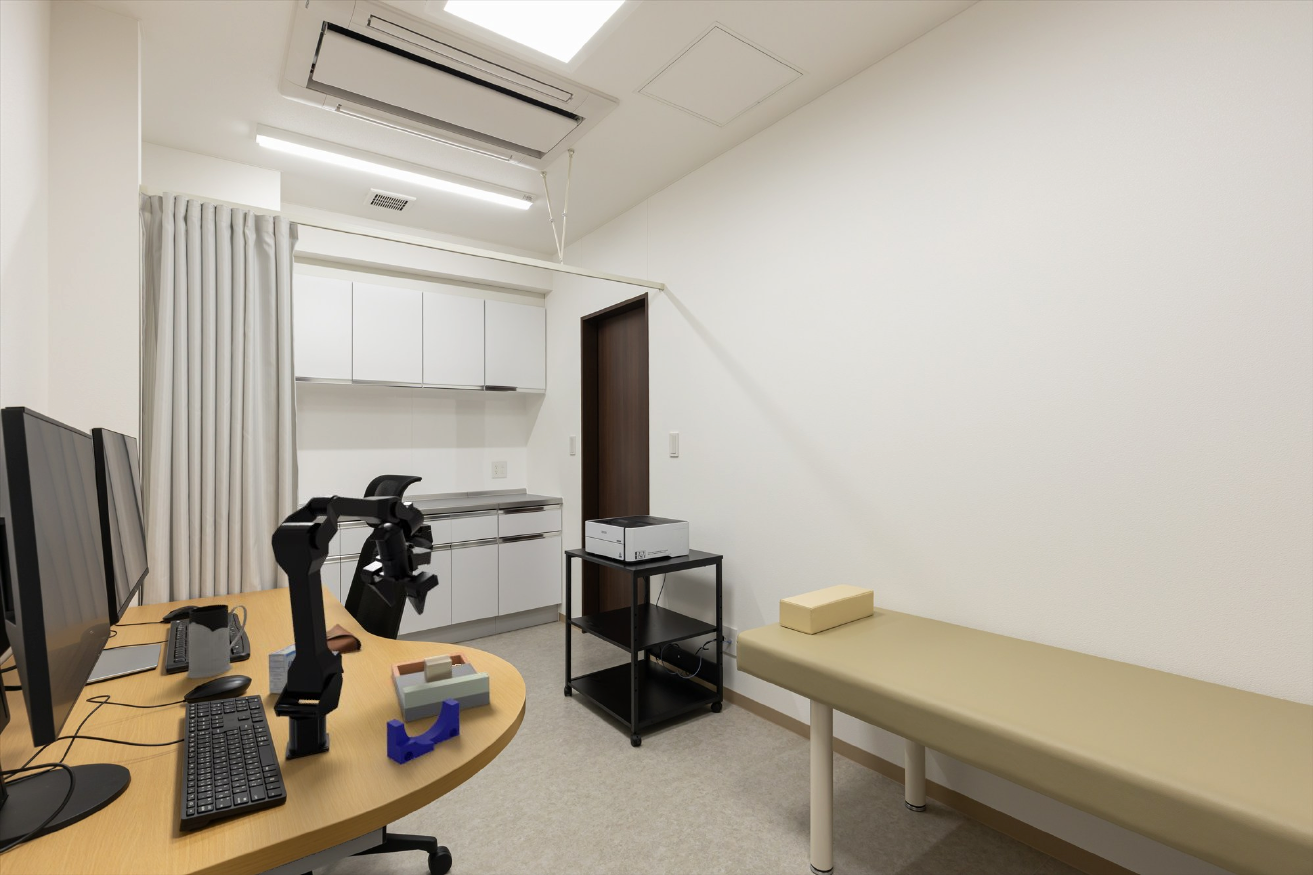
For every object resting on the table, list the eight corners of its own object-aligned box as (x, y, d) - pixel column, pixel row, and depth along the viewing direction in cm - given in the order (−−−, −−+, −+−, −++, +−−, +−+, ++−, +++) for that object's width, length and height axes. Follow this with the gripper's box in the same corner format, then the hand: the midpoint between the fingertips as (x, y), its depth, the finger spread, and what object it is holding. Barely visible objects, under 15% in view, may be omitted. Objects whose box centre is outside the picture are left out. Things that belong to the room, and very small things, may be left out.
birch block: (452, 679, 130) (451, 660, 130) (427, 684, 127) (427, 665, 127) (448, 672, 134) (447, 654, 134) (424, 676, 132) (423, 658, 132)
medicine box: (286, 695, 129) (285, 654, 130) (268, 693, 130) (267, 653, 130) (313, 680, 137) (313, 642, 137) (297, 679, 138) (296, 641, 138)
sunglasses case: (308, 641, 166) (321, 617, 168) (332, 649, 170) (345, 625, 173) (326, 656, 153) (341, 631, 155) (352, 665, 157) (366, 639, 159)
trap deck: (489, 703, 123) (489, 676, 123) (405, 721, 115) (404, 693, 115) (462, 661, 147) (462, 639, 148) (391, 674, 140) (391, 650, 140)
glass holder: (176, 676, 141) (176, 612, 142) (232, 656, 155) (232, 597, 155) (206, 679, 139) (206, 614, 139) (260, 658, 153) (259, 599, 153)
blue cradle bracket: (400, 765, 100) (400, 729, 100) (387, 757, 102) (386, 721, 102) (464, 737, 109) (463, 704, 109) (450, 730, 112) (449, 698, 112)
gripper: (450, 539, 136) (462, 599, 141) (393, 526, 144) (406, 582, 149) (411, 564, 127) (425, 626, 132) (352, 548, 135) (367, 607, 140)
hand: (406, 609), depth 138 cm, fingers open, 9 cm apart
